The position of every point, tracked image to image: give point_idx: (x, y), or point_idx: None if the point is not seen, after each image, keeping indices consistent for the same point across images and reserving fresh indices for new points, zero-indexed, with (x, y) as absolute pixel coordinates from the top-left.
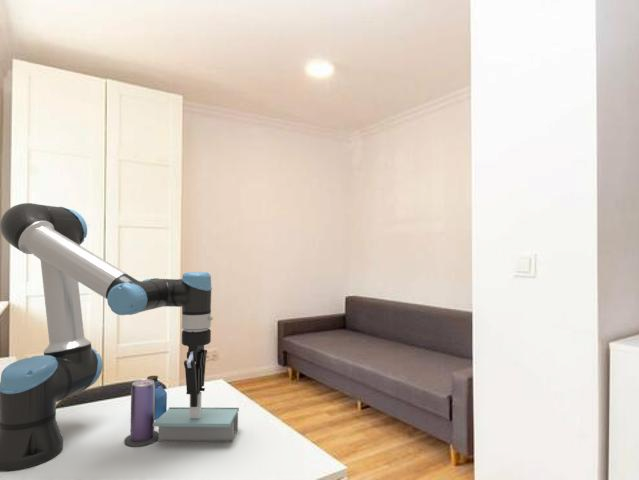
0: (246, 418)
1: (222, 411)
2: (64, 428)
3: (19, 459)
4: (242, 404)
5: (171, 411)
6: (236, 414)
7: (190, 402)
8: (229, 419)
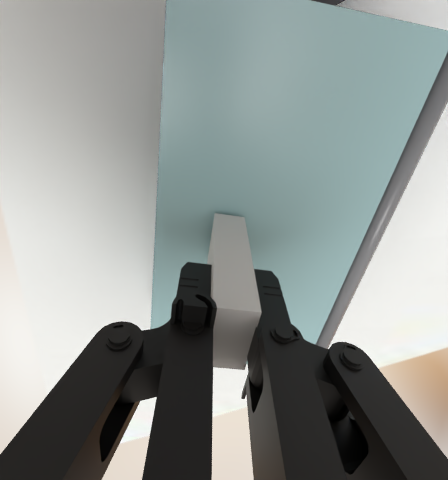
0: (374, 323)
1: (295, 324)
2: None
3: None
4: None
5: (388, 70)
6: None
7: (213, 267)
8: None
